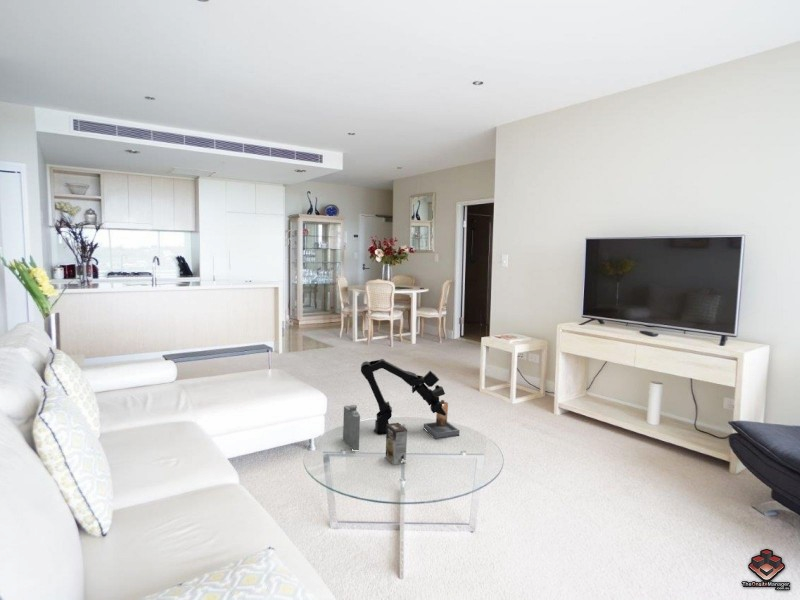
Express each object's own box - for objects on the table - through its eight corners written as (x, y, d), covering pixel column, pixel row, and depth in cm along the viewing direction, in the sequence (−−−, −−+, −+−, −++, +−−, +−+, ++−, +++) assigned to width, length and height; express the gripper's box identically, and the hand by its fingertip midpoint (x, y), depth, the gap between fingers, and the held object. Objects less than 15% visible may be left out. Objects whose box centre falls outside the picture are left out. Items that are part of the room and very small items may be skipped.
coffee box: (384, 457, 218) (386, 424, 216) (397, 454, 221) (398, 421, 219) (393, 465, 210) (395, 431, 208) (406, 462, 213) (407, 429, 211)
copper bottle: (442, 427, 245) (444, 403, 243) (433, 424, 249) (435, 400, 247) (448, 424, 250) (450, 400, 248) (440, 421, 253) (441, 397, 252)
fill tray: (435, 439, 240) (436, 433, 240) (423, 429, 253) (423, 423, 253) (459, 435, 246) (459, 430, 246) (445, 425, 259) (446, 420, 259)
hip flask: (342, 439, 236) (343, 401, 234) (349, 438, 238) (350, 400, 235) (353, 452, 222) (354, 411, 220) (361, 450, 224) (362, 410, 221)
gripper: (439, 387, 237) (459, 409, 239) (433, 377, 255) (452, 397, 257) (422, 402, 237) (443, 423, 239) (418, 390, 256) (437, 410, 258)
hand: (444, 412), depth 248 cm, fingers closed on copper bottle, 6 cm apart
